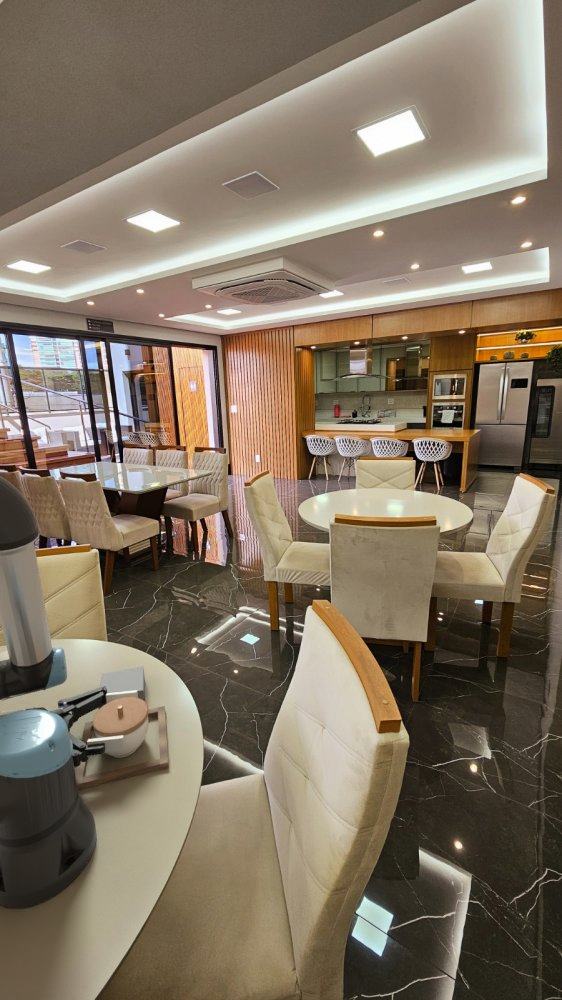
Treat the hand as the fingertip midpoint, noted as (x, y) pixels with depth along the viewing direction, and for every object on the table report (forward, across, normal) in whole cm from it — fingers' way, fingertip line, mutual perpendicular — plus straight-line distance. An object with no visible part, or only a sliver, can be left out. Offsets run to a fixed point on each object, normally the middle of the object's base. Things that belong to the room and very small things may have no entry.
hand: (131, 717), depth 90 cm
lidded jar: (-2, 0, -6) cm, 7 cm away
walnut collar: (-2, 0, -6) cm, 6 cm away
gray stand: (-6, -16, -6) cm, 18 cm away
